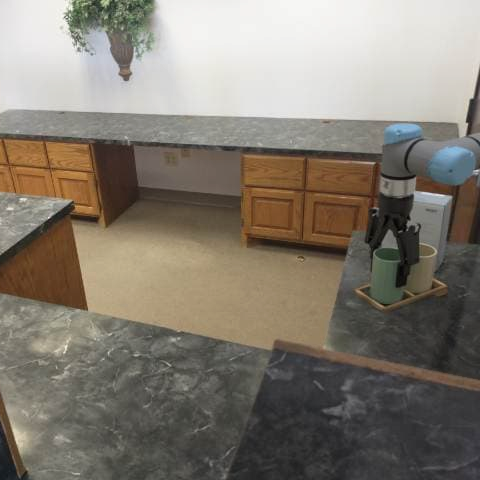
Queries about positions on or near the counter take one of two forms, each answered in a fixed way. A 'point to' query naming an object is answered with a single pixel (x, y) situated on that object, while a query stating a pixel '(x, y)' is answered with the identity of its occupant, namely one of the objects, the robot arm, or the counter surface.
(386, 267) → the green cup
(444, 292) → the cup holder
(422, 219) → the hard drive box
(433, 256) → the cream cup
